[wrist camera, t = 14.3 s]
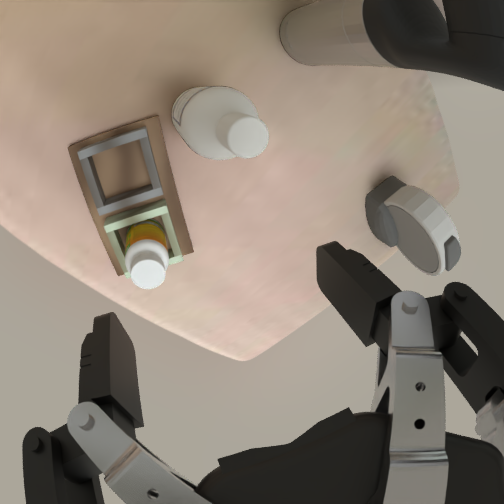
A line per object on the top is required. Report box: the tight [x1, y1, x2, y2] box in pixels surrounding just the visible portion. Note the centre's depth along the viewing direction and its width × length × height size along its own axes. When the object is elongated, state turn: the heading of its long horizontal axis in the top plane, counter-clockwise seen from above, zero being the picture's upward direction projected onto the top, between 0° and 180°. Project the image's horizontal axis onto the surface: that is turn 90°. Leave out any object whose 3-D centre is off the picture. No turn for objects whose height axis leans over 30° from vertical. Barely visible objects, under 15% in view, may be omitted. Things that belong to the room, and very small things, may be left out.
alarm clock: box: [365, 176, 461, 276], centre depth 46 cm, size 16×10×18 cm, turn 33°
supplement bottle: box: [125, 218, 169, 289], centre depth 35 cm, size 5×5×10 cm
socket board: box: [68, 116, 194, 278], centre depth 36 cm, size 12×20×4 cm, turn 9°
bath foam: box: [172, 86, 269, 160], centre depth 26 cm, size 7×7×20 cm
